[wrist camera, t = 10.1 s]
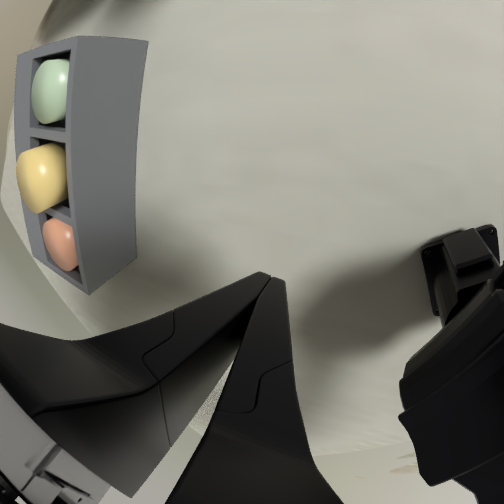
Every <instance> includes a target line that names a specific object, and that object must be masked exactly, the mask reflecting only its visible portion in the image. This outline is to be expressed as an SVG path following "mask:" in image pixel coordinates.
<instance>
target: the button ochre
mask: <svg viewBox="0 0 504 504" xmlns="http://www.w3.org/2000/svg"><path fill="white" fill-rule="evenodd" d="M16 176H17V183H18V187H19V191H20V193H21V196H22V198H23V200H24V202H25V204H26V205H27V207H28V208H29V209H30V210H31V211H32V212H33V213H36V214H37V213H40V212H42V211H44V210H46V209H48V208H50V207H52V206H54V205H56V204H58V203H60V202H62V201H64V200H66V199H67V198H69V195H68V184H67V168H66V150H65V149H64V148H63V147H62V146H61V145H60V144H59V143H57V142H51V143H48V144H45V145H42V146H39V147H36V148H33V149H30V150H27V151H25V152H22V153H21V154H20V155H19V157H18V160H17V165H16Z"/></svg>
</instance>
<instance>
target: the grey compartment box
mask: <svg viewBox="0 0 504 504" xmlns="http://www.w3.org/2000/svg"><path fill="white" fill-rule="evenodd" d="M147 47H148V41H145V40H136V39H127V38H116V37H101V36H76V37H72V38H68V39H64V40H61V41H57V42H54V43H51V44H48V45H44V46H41V47H38V48H36V49H33V50H30V51H27V52H24V53H22V54H19V55H18V56H17V66H16V78H15V97H14V130H15V150H16V162H17V160H18V157H19V155H20V154H21V153H22V152H25V151H27V150H30V149H33V148H36V147H39V146H42V145H45V144H48V143H51V142H57V143H59V144H60V145H61V146H62V147H63V148H64V149H65V150H66V168H67V184H68V195H69V198H67V199H66V200H64V201H62V202H60V203H58V204H56V205H54V206H52V207H50V208H48V209H46V210H44V211H42V212H40V213H37V214H36V213H33V212H32V211H31V210H30V209H29V208H28V207H27V205H26V204H25V202H24V200H23V198H22V196H21V201H22V207H23V213H24V218H25V223H26V228H27V233H28V237H29V241H30V246H31V250H32V254H33V256H34V257H35V258H36V259H38V260H39V261H40V262H42V263H43V264H44V265H46V266H47V267H49V268H50V269H51V270H53V271H54V272H56V273H57V274H58V275H60V276H61V277H63V278H64V279H66V280H67V281H68V282H70V283H71V284H73V285H74V286H76V287H77V288H79V289H80V290H82V291H83V292H85V293H86V294H88V295H90V294H91V293H93V292H94V291H95V290H96V289H98V288H99V287H100V286H101V285H102V284H104V283H105V282H106V281H107V280H109V279H110V278H111V277H112V276H114V275H115V274H116V273H117V272H119V271H120V270H121V269H123V268H124V267H125V266H126V265H128V264H129V263H130V262H132V261H133V260H134V259H135V258H137V254H136V228H135V174H136V149H137V132H138V119H139V108H140V98H141V89H142V81H143V73H144V66H145V59H146V53H147ZM69 58H70V62H69V71H68V82H67V97H66V119H63V120H59V121H55V122H51V123H47V124H43V123H41V122H39V121H38V119H37V118H36V116H35V114H34V111H33V108H32V101H31V91H32V84H33V80H34V77H35V74H36V72H37V70H38V68H39V67H40V65H41V64H42V63H43V62H45V61H47V60H55V59H69ZM20 195H21V193H20ZM53 217H54V218H56V219H58V220H60V221H62V222H64V223H66V224H68V225H70V226H71V227H72V229H73V236H74V242H75V248H76V254H77V259H78V264H79V265H78V266H76V267H75V268H73V269H72V270H71V271H65V270H63V269H61V268H60V267H59V266H58V265H57V264H56V263H55V262H54V260H53V259H52V257H51V256H50V254H49V252H48V250H47V248H46V245H45V242H44V238H43V225H44V223H45V222H46V221H48V220H50V219H52V218H53Z"/></svg>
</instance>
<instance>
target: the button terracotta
mask: <svg viewBox="0 0 504 504" xmlns="http://www.w3.org/2000/svg"><path fill="white" fill-rule="evenodd" d="M43 238H44V242H45V245H46V248H47V250H48V252H49V254H50V256H51V257H52V259H53V260H54V262H55V263H56V264H57V265H58V266H59V267H60V268H61V269H63V270H65V271H71V270H72V269H73V268H75V267H76V266H78V265H79V264H78V259H77V254H76V248H75V242H74V236H73V229H72V227H71V226H70V225H68V224H66V223H64V222H62V221H60V220H58V219H56V218H54V217H53V218H52V219H50V220H48V221H46V222H45V223H44V225H43Z"/></svg>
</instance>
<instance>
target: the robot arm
mask: <svg viewBox="0 0 504 504" xmlns="http://www.w3.org/2000/svg"><path fill="white" fill-rule="evenodd" d="M490 230H493V231H492V233H491V234H489V231H490ZM425 251H430V252H429V254H424V253H425ZM421 257H422V261H423V265H424V270H425V274H426V279H427V284H428V289H429V294H430V299H431V305H432V311H433V314H434V315H435V316H440V319H441V324H442V330H440V331H439V332H438V333H437V334H436V335H435V336H434V337H433V338H432V339H431V340H430V341H429V342H428V343H427V344H426V345H424V346H423V347H422V348H421V349H420V350H419V351H418V352H417V353H415V354H414V355H413V356H412V357H411V358H410V360H409V361H408V362H407V363H406V366H405V371H404V374H403V378H402V379H401V380H400V381H399V388H400V398H401V402H402V406H403V408H404V412H403V413H401V414H399V416H398V419H399V421H400V422H401V423H402V425H403V426H404V427H405V429H406V430H407V432H408V434H409V436H410V438H411V440H412V442H413V445H414V448H415V452H416V457H417V462H418V468H419V473H420V475H421V476H422V478H423V479H424V480H425V481H426V483H427V484H428V485H429V486H436V485H438V484H441V483H443V482H446V481H448V480H451V479H452V480H454V481H455V482H457V483H458V484H460V485H461V486H463V487H464V488H466V489H467V490H469V491H471V492H472V493H473V494H474V495H475V498H476V500H477V503H478V504H504V261H503V265H502V266H500V257H499V245H498V236H497V230H496V228H495V227H494V226H493V225H491V224H490V225H486V226H483V227H480V228H477V229H474V228H471V229H468V230H465V231H462V232H459V233H456V234H453V235H450V236H447V237H445V238H444V239H443V240H441V241H437V242H434V243H431V244H428V245H425V246H423V247H422V248H421ZM437 309H439V310H438V311H436V310H437ZM234 358H235V359H234ZM233 360H234V362H233V364H232V367H231V369H230V372H229V375H228V377H227V380H226V382H225V385H224V387H223V390H222V393H221V395H220V398H219V400H218V403H217V405H216V408H215V411H214V413H213V415H212V418H211V420H210V423H209V425H208V427H207V429H206V431H205V433H204V435H203V437H202V439H201V441H200V443H199V444H198V446H197V448H196V450H195V452H194V453H193V455H192V457H191V459H190V461H189V462H188V464H187V466H186V468H185V469H184V471H183V473H182V475H181V476H180V478H179V480H178V482H177V484H176V485H175V487H174V489H173V490H172V492H171V494H170V495H169V497H168V499H167V501H166V502H165V504H344V503H343V502H342V501H341V499H340V498H339V497H338V496H337V495H336V493H335V492H334V491H333V489H332V488H331V486H330V485H329V484H328V483H327V481H326V480H325V479H324V477H323V476H322V474H321V473H320V472H319V470H318V469H317V467H316V465H315V463H314V461H313V458H312V455H311V452H310V448H309V444H308V440H307V436H306V432H305V427H304V423H303V419H302V415H301V411H300V407H299V402H298V397H297V392H296V385H295V377H294V366H293V356H292V345H291V334H290V323H289V313H288V303H287V293H286V284H285V281H284V280H282V279H279V278H276V277H272V278H271V275H268V274H266V273H263V272H256V273H254V274H252V275H250V276H248V277H245V278H243V279H241V280H239V281H236V282H234V283H232V284H230V285H228V286H225V287H223V288H221V289H219V290H216V291H214V292H212V293H210V294H208V295H205V296H203V297H201V298H199V299H196V300H194V301H192V302H189V303H187V304H185V305H183V306H180V307H178V308H176V309H174V310H173V311H172V310H171V311H169V312H166V313H164V314H162V315H159V316H157V317H154V318H152V319H149V320H147V321H144V322H141V323H138V324H135V325H132V326H129V327H126V328H122V329H119V330H116V331H112V332H109V333H106V334H102V335H99V336H95V337H92V338H88V339H84V340H73V341H71V340H62V339H58V338H53V337H49V336H45V335H41V334H37V333H33V332H29V331H25V330H21V329H17V328H14V327H11V326H7V325H4V324H1V323H0V504H18V503H17V502H16V501H15V499H16V498H17V497H18V496H20V497H21V498H22V500H23V501H25V503H26V504H98V503H99V502H100V500H101V499H102V498H103V496H104V495H105V493H106V492H107V491H108V489H109V488H110V487H111V486H113V487H114V488H115V489H117V490H119V491H120V492H122V493H123V494H125V495H126V496H128V497H130V498H132V497H133V496H134V494H135V493H136V492H137V491H138V490H139V488H140V487H141V486H142V484H143V483H144V482H145V481H146V479H147V478H148V477H149V475H150V474H151V473H152V472H153V470H154V469H155V468H156V466H157V465H158V464H159V463H160V461H161V460H162V459H163V457H164V456H165V455H166V453H167V452H168V451H169V449H170V447H172V445H173V444H174V443H175V441H176V440H177V439H178V437H179V436H180V435H181V433H182V432H183V431H184V429H185V428H186V426H187V425H188V424H189V422H190V421H191V420H192V418H193V417H194V415H195V414H196V413H197V411H198V410H199V408H200V407H201V406H202V404H203V403H204V401H205V400H206V399H207V397H208V396H209V394H210V393H211V392H212V390H213V389H214V387H215V386H216V384H217V383H218V381H219V380H220V379H221V377H222V376H223V374H224V373H225V371H226V370H227V368H228V367H229V365H230V364H231V363H232V361H233Z"/></svg>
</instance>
